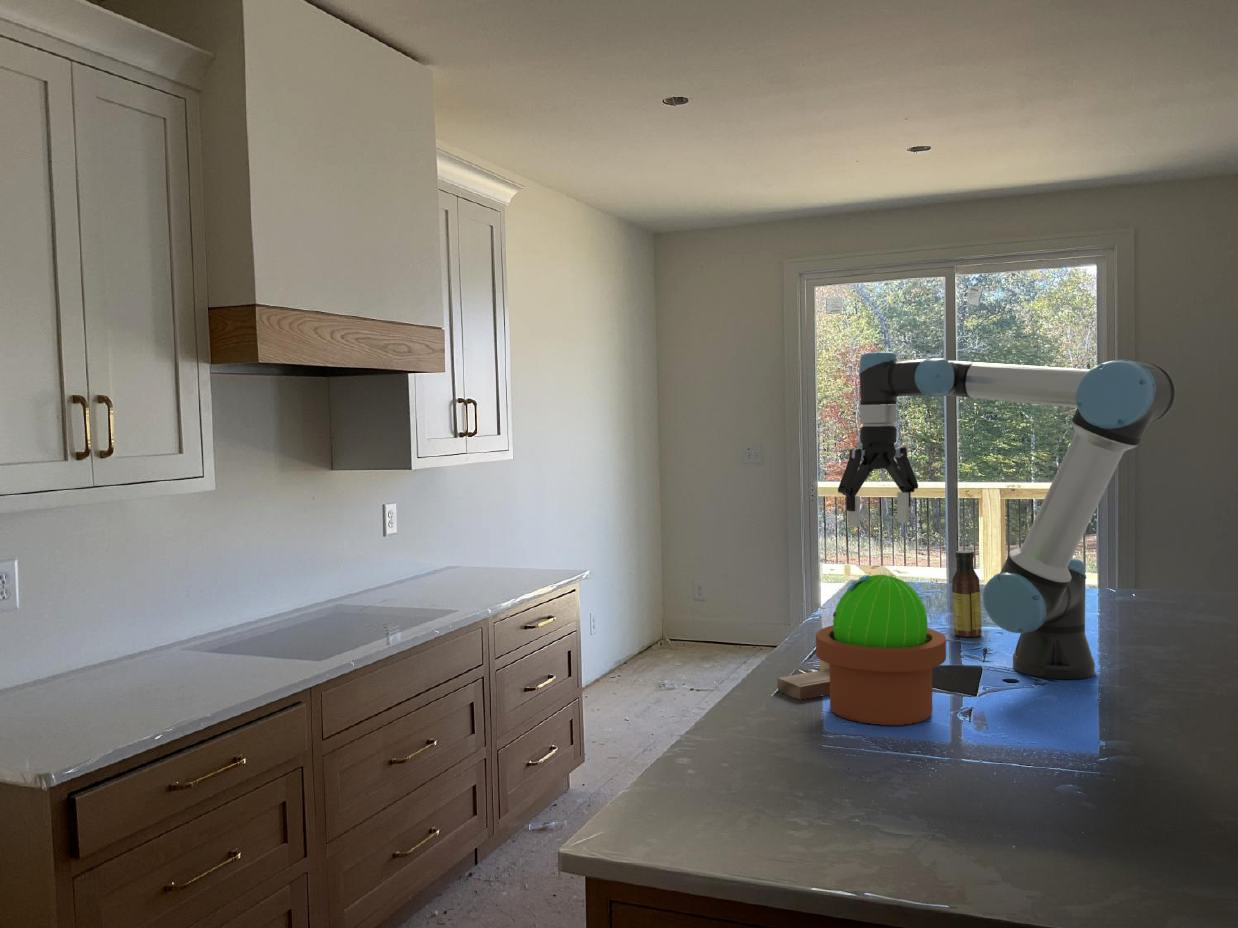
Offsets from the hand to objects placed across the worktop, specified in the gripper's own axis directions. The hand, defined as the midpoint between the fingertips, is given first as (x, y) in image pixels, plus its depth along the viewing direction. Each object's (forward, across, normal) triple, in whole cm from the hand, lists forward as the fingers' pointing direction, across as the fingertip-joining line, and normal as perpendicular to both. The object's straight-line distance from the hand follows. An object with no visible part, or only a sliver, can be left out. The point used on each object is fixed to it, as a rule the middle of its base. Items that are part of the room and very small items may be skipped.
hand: (879, 524), depth 208 cm
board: (+29, +23, +13) cm, 39 cm away
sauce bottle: (+29, -31, -5) cm, 43 cm away
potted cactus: (+29, +26, +29) cm, 48 cm away
